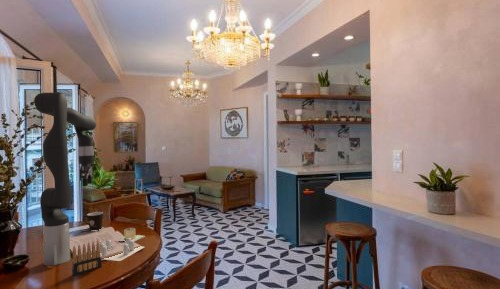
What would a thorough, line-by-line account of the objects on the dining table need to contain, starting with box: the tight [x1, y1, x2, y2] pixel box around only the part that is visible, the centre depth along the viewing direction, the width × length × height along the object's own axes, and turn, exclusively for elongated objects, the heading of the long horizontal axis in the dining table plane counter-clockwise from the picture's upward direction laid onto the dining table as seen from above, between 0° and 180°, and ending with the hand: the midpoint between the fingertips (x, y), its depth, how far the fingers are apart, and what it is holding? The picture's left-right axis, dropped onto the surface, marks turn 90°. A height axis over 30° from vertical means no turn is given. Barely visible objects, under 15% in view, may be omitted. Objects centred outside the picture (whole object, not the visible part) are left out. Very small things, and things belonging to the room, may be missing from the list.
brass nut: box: [123, 227, 137, 240], centre depth 166 cm, size 6×5×5 cm
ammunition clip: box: [71, 240, 103, 277], centre depth 127 cm, size 11×2×12 cm, turn 132°
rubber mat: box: [121, 234, 146, 243], centre depth 166 cm, size 11×11×1 cm
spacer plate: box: [99, 238, 145, 262], centre depth 147 cm, size 18×18×5 cm
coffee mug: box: [82, 211, 104, 231], centre depth 186 cm, size 12×9×10 cm
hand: (87, 184), depth 167 cm, fingers open, 8 cm apart
